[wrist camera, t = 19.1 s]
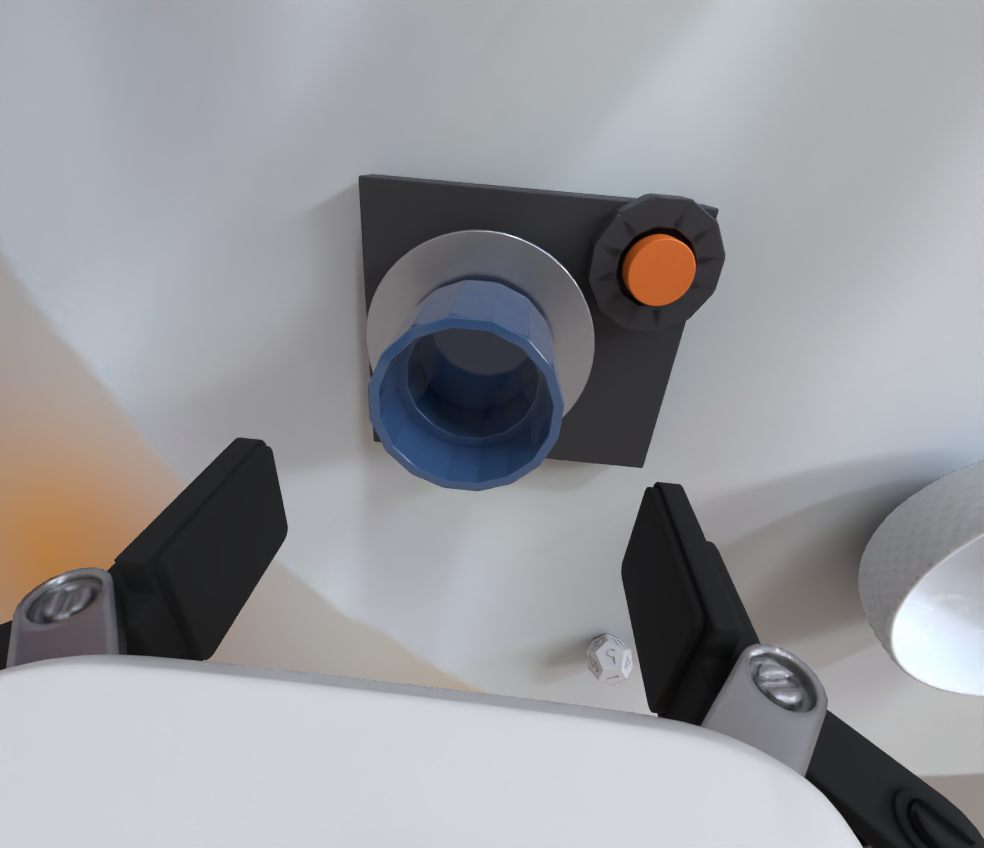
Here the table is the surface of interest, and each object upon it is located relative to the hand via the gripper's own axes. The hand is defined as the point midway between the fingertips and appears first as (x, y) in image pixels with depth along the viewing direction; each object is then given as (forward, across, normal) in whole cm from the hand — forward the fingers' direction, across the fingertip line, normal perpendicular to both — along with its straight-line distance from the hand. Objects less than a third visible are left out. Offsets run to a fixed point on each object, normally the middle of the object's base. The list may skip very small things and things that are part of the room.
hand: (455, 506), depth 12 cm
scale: (+16, -1, +1) cm, 16 cm away
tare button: (+13, -7, -4) cm, 15 cm away
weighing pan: (+13, +1, +1) cm, 13 cm away
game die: (+16, -11, +27) cm, 33 cm away
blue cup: (+12, 0, +1) cm, 12 cm away
